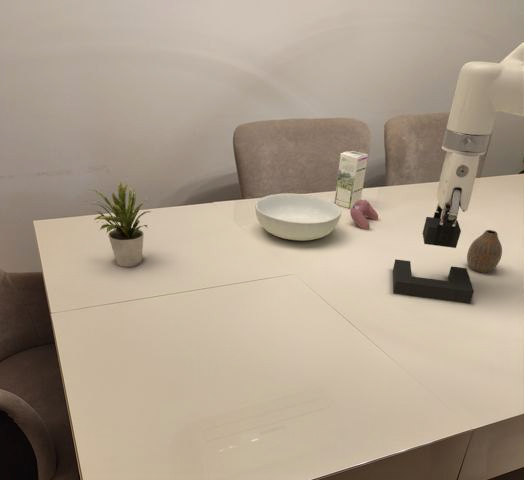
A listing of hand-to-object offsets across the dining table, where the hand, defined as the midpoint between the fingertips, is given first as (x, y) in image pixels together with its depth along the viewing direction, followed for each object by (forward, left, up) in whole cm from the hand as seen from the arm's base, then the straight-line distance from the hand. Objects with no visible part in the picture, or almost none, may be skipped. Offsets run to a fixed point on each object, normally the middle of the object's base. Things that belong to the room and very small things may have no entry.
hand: (439, 237), depth 99 cm
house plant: (+64, +8, -10) cm, 65 cm away
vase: (-12, -11, -10) cm, 20 cm away
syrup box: (+20, -46, -10) cm, 52 cm away
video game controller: (+15, -32, -10) cm, 37 cm away
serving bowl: (+31, -19, -10) cm, 38 cm away
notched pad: (0, +2, -10) cm, 10 cm away
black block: (0, 0, -1) cm, 1 cm away
